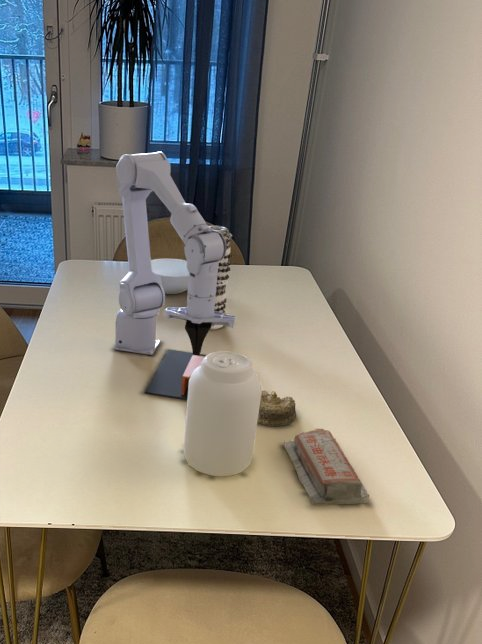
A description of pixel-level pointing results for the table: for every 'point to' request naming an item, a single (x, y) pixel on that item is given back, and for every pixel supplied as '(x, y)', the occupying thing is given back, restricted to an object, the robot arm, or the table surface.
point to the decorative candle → (222, 274)
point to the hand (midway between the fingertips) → (196, 353)
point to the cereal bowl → (172, 274)
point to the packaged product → (325, 469)
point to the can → (222, 414)
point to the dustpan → (190, 371)
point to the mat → (170, 375)
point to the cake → (276, 410)
